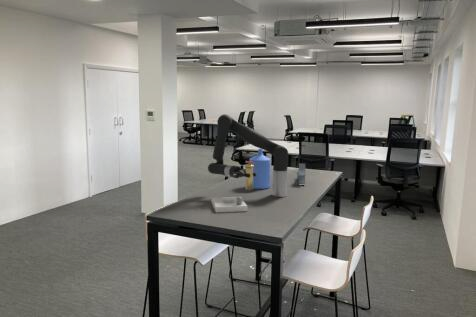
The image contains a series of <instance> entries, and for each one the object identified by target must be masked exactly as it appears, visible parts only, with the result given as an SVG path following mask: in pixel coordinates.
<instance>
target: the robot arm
mask: <svg viewBox="0 0 476 317" xmlns="http://www.w3.org/2000/svg"><path fill="white" fill-rule="evenodd" d="M216 122H217V133H216V139H215V144H214V147H213V154H212V159H214V160H215V161H216V162H211V163H209V164H208V166H207V170H208V172H209V173H210V174H213V175H222V176H227V177H229V178H234V179H240V178H246V177H250V174H248V173H246V169H242V167H241V166H239V165H231V164H224V156H225V155H224V154H225V150H226V142H227V137H228V133H229V131H230V132H232V133H234V134H235V135H236V136H238V137H239V138H240V139H242V140H243V141H244V142H246V143H248V144H250V145H252V146H253V147H255V148H258V149H262V151H263V150H264V151H265V152H267V153H269V154H270V155H272V156H273V166H272V167H273V168H272V197H275V198H277V197H278V198H285V197H287V192H288V191H287V190H288V189H287V188H288V166H289V150H288V149H287V148H286V147H285V146H284V145H280V144H279V143H276V142H273V141H272V140H270V139H269V138H267V137H266V136H265V135H263V134H262V133H260V132H258V130H255V129H253V128H251V127H248V126H246V125H245V124H242V123H240V122H238V121H237V120H235V119H234V118H233V117H232V116H230V115H228V114H222V115H219V117H218V119H217V121H216ZM253 176H256V173H254V172H253Z"/></svg>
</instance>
